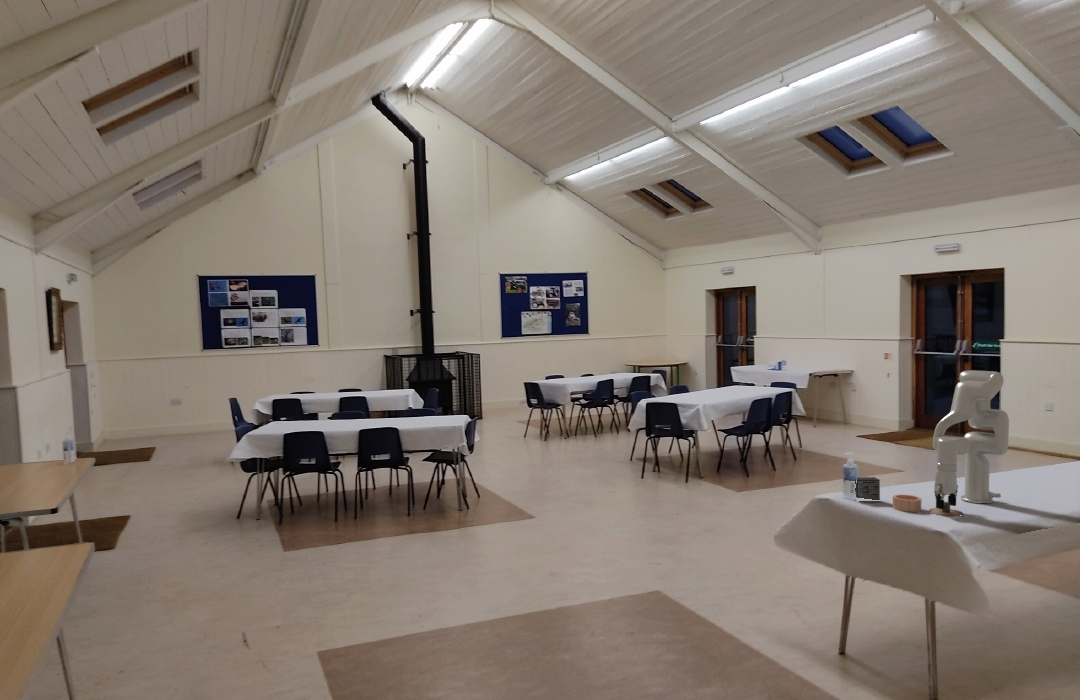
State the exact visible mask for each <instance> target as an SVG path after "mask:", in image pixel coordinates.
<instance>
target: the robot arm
mask: <svg viewBox="0 0 1080 700" xmlns="http://www.w3.org/2000/svg"><path fill="white" fill-rule="evenodd" d="M1003 385H1004V376H1003V374H1001V373H1000V372H998V371H993V370H990V371H989V370H972V369H971V370H969V369H968V370H963V371H962V372H960V373H959V382H957V384H956V385H955V387H954V393H953V397H952V402H951V403H952V404H951V408H950V411H949V413H948V414H947V415H945V416H944V417H943V418H942V419H940V421H939V422H938V423H937V424H936V426H935V429H934V432H933V437H932V447H933V449H934V450H935V451H936V471H935V477H934V490H933V491H934V496H935V508H939V509H944V502H945V496H947V502H949V503H950V506H953V507H956V506H957V497H958V489H959V485H958V480H957V470H958V469H957V467H958V465H957V464H958V455H961V456H962V455H964V456H965V457H964V460H965V467H964V471H965V472H964V495H961V496H960V500H962V501H964V502H967V501H968V503H973V504H981V503H987V504H993V502H994V498H996V499H997V498H1001V496H1002V495H1001V493H999V492H998V493H996V492H992V491H990V460H989V459H988V458H987V456H986V455H993V456H1004V455H1005V454H1006V453H1007V452H1008V449H1009V434H1010V431H1009V430H1010V417H1009V414H1008V413H1007V412H1006V411H1005V410H1001V409H996V408H994V409H993V408H991V400H992V399H994V397H996V395H997V394H998V393H999V392H1000V390H1002V388H1003ZM966 421H967V422H968V425H969V427H971V428H973V429H978V430H985V431H994V433H992V432H984V431H969V432H967V433H965V434H964V436H963V437H962V436H953V435H945V433H946V431H947V430H948V429H949V428H950V427H951V426H953V425H956V424H958V423H959V424H960V423H962V422H966Z"/></svg>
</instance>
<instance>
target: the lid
mask: <svg viewBox="0 0 1080 700" xmlns="http://www.w3.org/2000/svg"><path fill="white" fill-rule="evenodd" d="M928 512H929V513H930V512H931V513H930V514H932V513H933V514H932V515H935V514H936V516H940V515H941V517H947V516H960V515H963V516H964V513H963V511H960V510H957V509H953V508H952V509H951V505H950V503H949V502H948V501H944V509H939V508H936V507H935V508H929V509H928ZM960 517H961V516H960Z"/></svg>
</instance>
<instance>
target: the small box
mask: <svg viewBox="0 0 1080 700" xmlns="http://www.w3.org/2000/svg"><path fill="white" fill-rule="evenodd" d="M880 480H881V479H880V478H877V477H875V476H865V477H864V476H863V477H862V476H857V483H856V479H855V484H856V488H855V492H856V493H855V494H856V497H857V498H864V499H872V500H880V501H881V492H880V490H881V488H880V486H881V485H880V484H881V483H880V482H881V481H880Z"/></svg>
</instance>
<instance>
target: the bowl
mask: <svg viewBox="0 0 1080 700" xmlns="http://www.w3.org/2000/svg"><path fill="white" fill-rule="evenodd" d="M922 506H923V505H922V498H921V497H919V496H916V495H911V494H894V495H893V496H892V508H893V509H894V508H895V509H894V510H896V509H898V510H897V511H899V510H902V511H901V512H905V511H910V512H909V513H918V512H917V511H919V512H921V511H922V508H923V507H922Z"/></svg>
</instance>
